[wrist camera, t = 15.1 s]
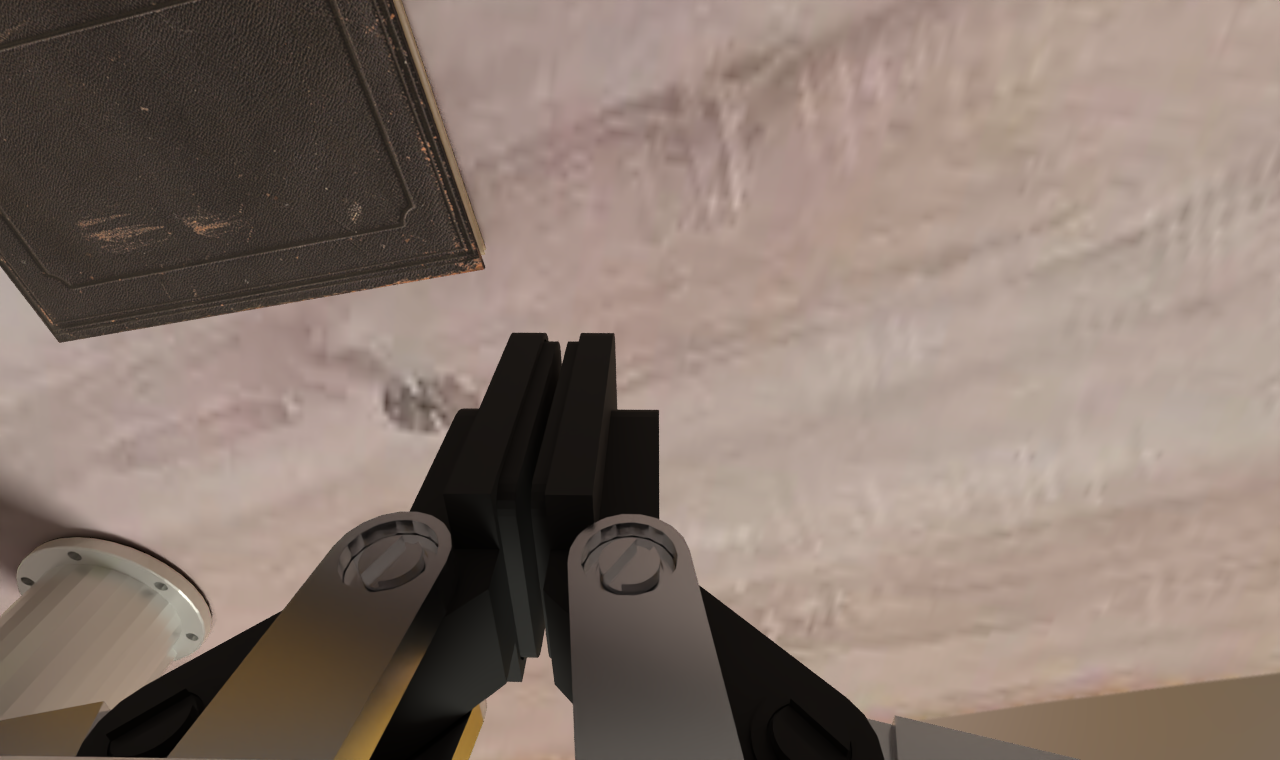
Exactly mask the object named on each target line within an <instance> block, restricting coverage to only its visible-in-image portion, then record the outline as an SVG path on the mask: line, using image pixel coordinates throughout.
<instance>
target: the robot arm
mask: <svg viewBox="0 0 1280 760" xmlns="http://www.w3.org/2000/svg"><path fill="white" fill-rule="evenodd" d="M16 580H17V584H18V589H19V592H20V594H21V595H22V596H21V597H20V598H19V599H18V600H16V601H15V602H14V603H13V604H12V605H11V606H10V607H9V608H8V609H7V610H6V611H5V612H4V613H3V614H2V615H1V616H0V760H469V758H470V755H471V753H472V750H473V748H474V745H475V743H476V740H477V738H478V735H479V732H480V730H481V727H482V725H483V722H484V718H485V714H486V709H487V702H486V698H488V697H489V696H490V695H492V694H493V693H494V692H496V691H497V690H498V689H500V688H501V687H502V686H503V685H505V684H506V683H507V682H522V679H523V674H524V669H525V664H526V659H527V657H536V658H538V657H539V655H540V652H541V647H542V642H543V636H544V630H545V629H546V637H547V644H548V652H549V657H550V658H552V666H553V674H554V682H555V685H556V686H557V687H558V688H559V689H560V691H561V692H562V693H563V694H564V695H565V696H566V697H567V698H568V699H569V700H570V701H571V703H572V704H573V716H574V742H575V760H1080V759H1076V758H1072V757H1067V756H1063V755H1059V754H1055V753H1051V752H1046V751H1042V750H1037V749H1034V748H1029V747H1025V746H1021V745H1017V744H1013V743H1008V742H1004V741H1000V740H995V739H992V738H987V737H983V736H979V735H975V734H971V733H966V732H962V731H958V730H954V729H950V728H945V727H941V726H937V725H933V724H929V723H924V722H920V721H916V720H912V719H908V718H903V717H899V716H895V717H894V720H893V723H892V725H891V724H887V723H883V722H879V721H875V720H871V719H867V718H866V717H865V715H864V714H863V713H862V712H861V711H860V710H859V709H858V708H857V707H856V706H855V705H854V704H853V703H852V702H851V701H850V700H849V699H847V698H846V697H845V696H844V695H842V694H841V693H840V692H838V691H837V690H836V689H835V688H833V687H832V686H831V685H829V684H828V683H827V682H825V681H824V680H823V679H821V678H820V677H819V676H817V675H816V674H815V673H814V672H812V671H811V670H810V669H808V668H807V667H806V666H804V665H803V664H802V663H800V662H799V661H798V660H797V659H795V658H794V657H793V656H791V655H790V654H789V653H787V652H786V651H785V650H783V649H782V648H781V647H779V646H778V645H777V644H776V643H774V642H773V641H772V640H770V639H769V638H768V637H766V636H765V635H764V634H762V633H761V632H760V631H758V630H757V629H756V628H755V627H753V626H752V625H751V624H749V623H748V622H747V621H745V620H744V619H743V618H741V617H740V616H739V615H738V614H736V613H735V612H734V611H732V610H731V609H730V608H728V607H727V606H726V605H724V604H723V603H722V602H720V601H719V600H718V599H717V598H715V597H714V596H713V595H711V594H710V593H709V592H707V591H706V590H705V589H703V588H702V587H701V586H699V584H698V580H697V576H696V573H695V569H694V565H693V561H692V557H691V553H690V550H689V548H688V546H687V544H686V542H685V540H684V537H683V536H682V535H681V534H680V533H679V532H678V531H677V530H676V529H675V528H673V527H672V526H671V525H669V524H667V523H665V522H663V521H661V520H659V410H617V389H616V356H615V336H614V333H581V335H580V339H579V342H568V344H567V347H566V351H565V355H564V359H563V363H562V362H561V350H560V344H559V342H549V341H548V336H547V334H546V333H512V334H511V336H510V338H509V340H508V343H507V345H506V347H505V350H504V352H503V354H502V357H501V359H500V361H499V364H498V366H497V368H496V371H495V373H494V375H493V378H492V380H491V382H490V385H489V387H488V389H487V392H486V394H485V396H484V399H483V401H482V403H481V406H480V408H479V409H461V410H459V411H458V413H457V414H456V415H455V418H454V420H453V422H452V424H451V426H450V428H449V430H448V432H447V434H446V436H445V438H444V441H443V443H442V445H441V447H440V449H439V451H438V453H437V455H436V457H435V459H434V462H433V464H432V466H431V468H430V470H429V472H428V474H427V476H426V478H425V480H424V482H423V485H422V487H421V489H420V491H419V493H418V495H417V497H416V499H415V501H414V503H413V506H412V508H411V510H410V512H396V513H391V514H386V515H381V516H378V517H376V518H373V519H371V520H368V521H366V522H363V523H362V524H360V525H359V526H357V527H355V528H354V529H352V530H351V531H349V532H348V533H346V534H345V535H344V536H343V537H342V538H341V539H340V540H339V541H338V542H337V543H336V544H335V545H334V546H333V547H332V549H331V550H330V551H329V552H328V554H327V555H326V556H325V557H324V559H323V560H322V561H321V563H320V564H319V565H318V566H317V568H316V569H315V570H314V571H313V573H312V574H311V575H310V576H309V578H308V579H307V580H306V582H305V583H304V584H303V585H302V587H301V588H300V589H299V590H298V592H297V593H296V594H295V596H294V597H293V598H292V599H291V601H290V602H289V603H288V604H287V606H286V607H285V608H284V609H283V610H282V611H281V612H279V613H277V614H275V615H273V616H271V617H270V618H268V619H266V620H264V621H262V622H260V623H259V624H257V625H255V626H253V627H251V628H249V629H248V630H246V631H244V632H242V633H240V634H238V635H237V636H235V637H233V638H231V639H229V640H227V641H226V642H224V643H222V644H220V645H218V646H216V647H215V648H213V649H211V650H209V651H207V652H205V653H204V654H202V655H200V656H198V657H196V658H194V659H193V660H191V661H189V662H187V663H185V664H183V665H182V666H180V667H178V668H176V669H174V670H172V671H171V672H169V673H167V674H165V675H163V676H162V674H163V673H164V672H165V670H166V669H167V668H168V666H169V665H170V664H171V662H172V661H176V660H180V659H183V658H185V657H188V656H190V655H192V654H193V653H194V652H195V651H197V650H198V649H199V648H200V646H201V645H202V644H203V642H204V641H205V640H206V638H207V637H208V635H209V633H210V630H211V627H212V618H211V614H210V611H209V607H208V605H207V604H206V602H205V600H204V598H203V597H202V595H201V594H200V593H199V592H198V591H197V589H196V588H195V587H194V586H193V585H192V584H191V583H190V582H189V581H188V580H187V579H186V578H184V577H183V576H182V575H181V574H180V573H178V572H177V571H175V570H174V569H172V568H171V567H170V566H168V565H167V564H165V563H163V562H161V561H159V560H158V559H156V558H154V557H152V556H150V555H148V554H146V553H143V552H141V551H139V550H136V549H134V548H131V547H128V546H125V545H122V544H118V543H115V542H111V541H106V540H101V539H95V538H82V537H72V538H60V539H56V540H52V541H49V542H46V543H44V544H42V545H40V546H39V547H37V548H36V549H34V550H33V551H32V552H31V553H30V554H29V555H28V556H27V557H26V558H25V559H23V560H22V562H21V564H20V565H19V567H18V569H17V575H16Z"/></svg>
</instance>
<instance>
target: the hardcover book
mask: <svg viewBox="0 0 1280 760" xmlns="http://www.w3.org/2000/svg"><path fill="white" fill-rule="evenodd" d="M484 250H486V248H485V245H484V242H483V239H482V237H481V234H480V231H479V228H478V225H477V222H476V219H475V216H474V213H473V210H472V207H471V204H470V201H469V198H468V196H467V193H466V190H465V187H464V184H463V181H462V178H461V175H460V172H459V169H458V166H457V163H456V160H455V157H454V154H453V151H452V148H451V146H450V143H449V140H448V137H447V134H446V131H445V128H444V125H443V122H442V119H441V116H440V113H439V110H438V107H437V104H436V101H435V98H434V96H433V93H432V90H431V87H430V84H429V81H428V78H427V75H426V72H425V69H424V66H423V63H422V60H421V57H420V54H419V51H418V48H417V46H416V43H415V40H414V37H413V34H412V31H411V28H410V25H409V22H408V19H407V16H406V13H405V10H404V7H403V4H402V1H401V0H0V266H1V268H2V269H3V270H4V271H5V273H6V274H7V275H8V277H9V278H10V279H11V281H12V282H13V283H14V284H15V286H16V287H17V288H18V290H19V291H20V292H21V294H22V295H23V296H24V297H25V299H26V300H27V301H28V303H29V304H30V305H31V307H32V308H33V309H34V311H35V312H36V313H37V314H38V316H39V317H40V318H41V320H42V321H43V322H44V324H45V325H46V326H47V327H48V329H49V330H50V331H51V333H52V334H53V335H54V337H55V338H56V339H57V340H58V342H59V343H61V342H67V341H72V340H78V339H84V338H90V337H96V336H101V335H107V334H113V333H119V332H124V331H130V330H136V329H142V328H148V327H153V326H159V325H165V324H171V323H177V322H182V321H188V320H194V319H200V318H205V317H211V316H217V315H223V314H229V313H234V312H240V311H246V310H252V309H258V308H263V307H269V306H275V305H281V304H287V303H292V302H298V301H304V300H310V299H315V298H321V297H327V296H333V295H339V294H344V293H350V292H356V291H362V290H368V289H373V288H379V287H385V286H391V285H396V284H402V283H408V282H414V281H420V280H425V279H431V278H437V277H443V276H449V275H454V274H460V273H466V272H472V271H477V270H483V269H484V268H485V265H484V262H483V259H482V256H481V255H484V254H485V252H484Z"/></svg>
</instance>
